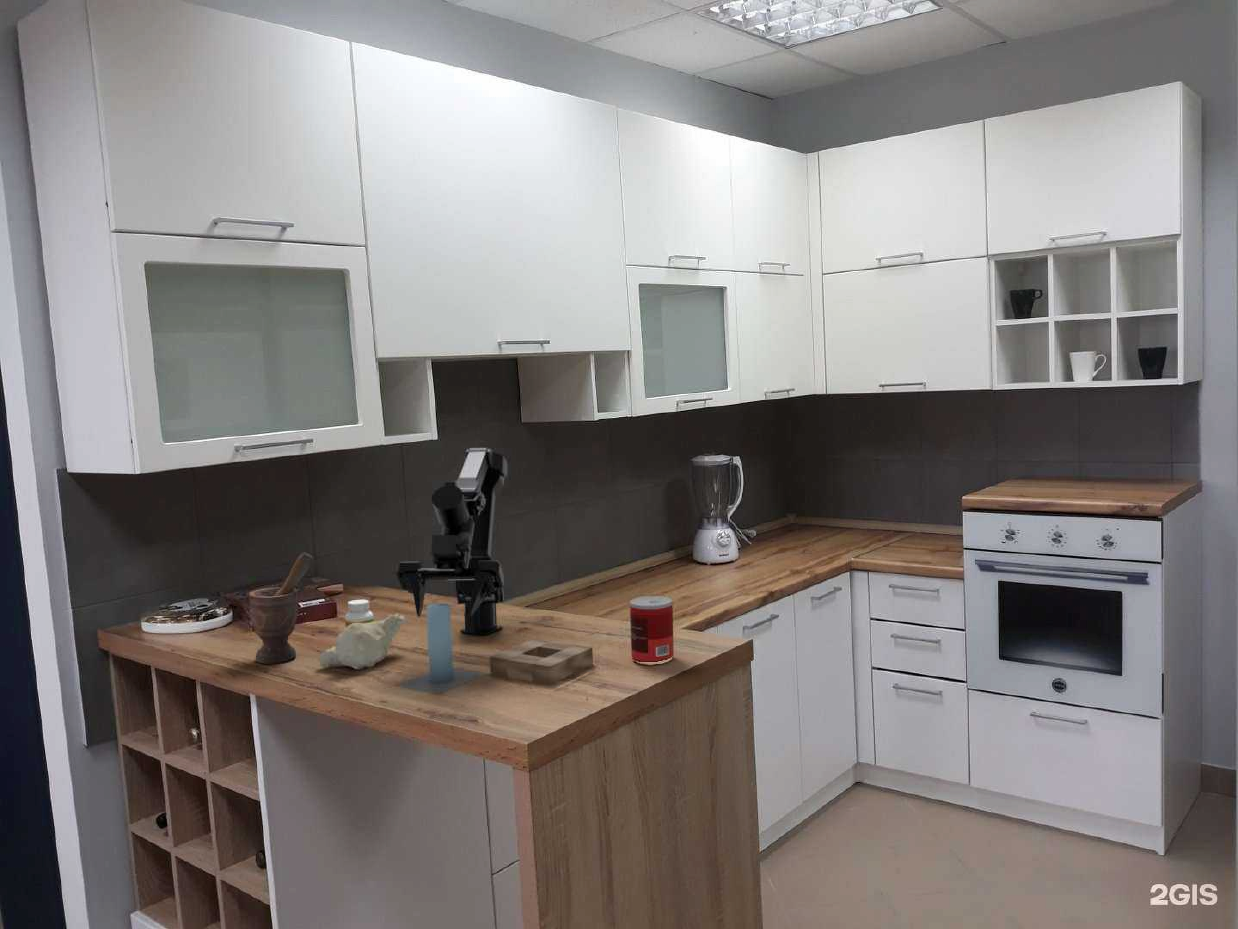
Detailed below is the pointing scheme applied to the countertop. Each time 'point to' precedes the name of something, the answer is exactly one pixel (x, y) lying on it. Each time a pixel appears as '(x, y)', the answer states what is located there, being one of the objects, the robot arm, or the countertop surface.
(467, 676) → the mat
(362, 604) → the supplement bottle
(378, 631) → the cream lumpy knobby chunk
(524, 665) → the block
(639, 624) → the canned food
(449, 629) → the light blue cylinder
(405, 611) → the countertop surface
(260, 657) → the mortar and pestle
